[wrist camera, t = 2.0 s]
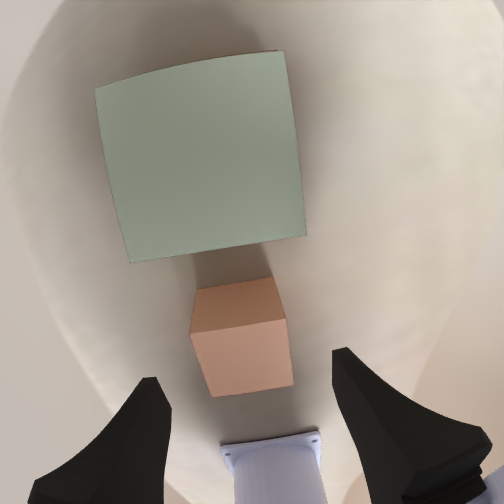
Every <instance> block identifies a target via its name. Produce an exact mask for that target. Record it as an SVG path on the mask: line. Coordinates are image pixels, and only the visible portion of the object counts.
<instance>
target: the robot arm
mask: <svg viewBox="0 0 504 504" xmlns="http://www.w3.org/2000/svg"><path fill="white" fill-rule="evenodd" d="M332 386H333V389H334V393H335V396H336V400H337V403H338V406H339V408H340V411H341V413H342V415H343V418H344V420H345V422H346V425H347V427H348V429H349V431H350V434H351V436H352V438H353V441H354V443H355V445H356V448H357V451H358V453H359V457H360V460H361V464H362V467H363V471H364V474H365V478H366V482H367V486H368V490H369V494H370V498H371V503H372V504H504V465H503V466H501V467H500V468H499V469H497V470H495V471H494V472H492V473H491V474H490V475H488V476H487V477H486V478H484V479H483V480H482V478H481V476H480V475H481V474H482V469H481V468H480V466H479V465H480V464H481V463H482V461H483V460H484V459H485V458H486V456H487V455H488V454H489V452H490V451H491V448H492V443H491V441H490V439H489V438H488V436H487V435H486V433H485V432H484V431H483V430H482V428H481V427H479V426H474V425H471V424H466V423H463V422H459V421H456V420H453V419H450V418H448V417H445V416H443V415H440V414H438V413H436V412H434V411H431V410H429V409H427V408H425V407H423V406H421V405H419V404H418V403H416V402H414V401H412V400H411V399H409V398H407V397H406V396H404V395H403V394H401V393H400V392H398V391H397V390H396V389H394V388H393V387H392V386H390V385H389V384H388V383H386V382H385V381H384V380H383V379H381V378H380V377H379V376H378V375H377V374H375V373H374V372H373V371H372V370H371V369H370V368H369V367H367V366H366V365H365V364H364V363H363V362H362V361H361V360H360V359H359V358H358V357H357V356H356V355H355V354H354V353H353V352H352V351H351V350H350V349H349V348H347V347H345V348H340V349H336V350H332ZM171 414H172V408H171V406H170V404H169V402H168V400H167V398H166V396H165V394H164V392H163V390H162V388H161V386H160V384H159V382H158V380H157V378H156V377H149V378H142V380H141V381H140V382H139V384H138V385H137V386H136V388H135V389H134V391H133V392H132V393H131V395H130V396H129V397H128V399H127V400H126V402H125V403H124V404H123V406H122V407H121V408H120V410H119V411H118V412H117V414H116V415H115V416H114V417H113V418H112V420H111V421H110V422H109V424H108V425H107V426H106V427H105V428H104V429H103V430H102V431H101V433H100V434H99V435H98V436H97V437H96V438H95V439H94V440H93V441H92V442H91V443H90V444H88V446H86V447H85V448H84V449H83V450H82V451H80V452H79V453H78V454H77V455H76V456H74V457H73V458H72V459H70V460H69V461H68V462H66V463H65V464H63V465H62V466H60V467H59V468H57V469H55V470H54V471H52V472H50V473H48V474H46V475H44V476H42V477H41V478H39V479H36V480H35V482H34V484H33V487H32V490H31V493H30V496H29V499H28V504H164V471H165V465H166V458H167V452H168V446H169V439H170V433H171ZM220 452H221V454H222V456H223V458H224V460H225V462H226V464H227V466H228V468H229V470H230V472H231V474H232V475H233V477H234V494H235V504H328V502H327V498H326V494H325V490H324V486H323V482H322V478H321V474H320V463H321V435H320V432H318V431H313V432H308V433H303V434H298V435H293V436H288V437H282V438H276V439H270V440H263V441H256V442H249V443H240V444H231V445H223V446H221V447H220Z"/></svg>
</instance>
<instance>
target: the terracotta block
mask: <svg viewBox="0 0 504 504" xmlns="http://www.w3.org/2000/svg"><path fill="white" fill-rule="evenodd" d="M189 335H190V338H191V341H192V344H193V347H194V350H195V353H196V356H197V359H198V362H199V364H200V367H201V370H202V373H203V376H204V378H205V381H206V384H207V387H208V389H209V392H210V395H211V397H220V396H228V395H236V394H243V393H250V392H257V391H263V390H269V389H275V388H281V387H286V386H291V385H294V382H293V373H292V364H291V356H290V347H289V339H288V330H287V322H286V317H285V313H284V310H283V307H282V303H281V300H280V296H279V293H278V290H277V286H276V283H275V280H274V277H268V278H262V279H257V280H251V281H245V282H239V283H233V284H227V285H221V286H215V287H209V288H202V289H197V293H196V298H195V304H194V309H193V315H192V320H191V326H190V332H189Z"/></svg>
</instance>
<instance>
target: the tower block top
mask: <svg viewBox="0 0 504 504" xmlns="http://www.w3.org/2000/svg"><path fill="white" fill-rule="evenodd" d="M94 93H95V101H96V109H97V116H98V123H99V129H100V135H101V141H102V147H103V152H104V158H105V163H106V168H107V173H108V178H109V183H110V187H111V192H112V196H113V200H114V205H115V209H116V213H117V217H118V221H119V225H120V229H121V233H122V236H123V240H124V244H125V247H126V251H127V254H128V258H129V261H130V263H134V262H140V261H146V260H153V259H159V258H165V257H171V256H177V255H184V254H190V253H196V252H202V251H209V250H215V249H221V248H228V247H234V246H241V245H247V244H253V243H260V242H266V241H273V240H279V239H286V238H292V237H299V236H306V235H307V232H306V221H305V210H304V200H303V190H302V180H301V171H300V163H299V154H298V146H297V138H296V130H295V123H294V115H293V108H292V101H291V94H290V88H289V81H288V75H287V69H286V62H285V56H284V51H276V52H263V53H253V54H244V55H236V56H228V57H221V58H215V59H209V60H203V61H198V62H192V63H187V64H182V65H178V66H173V67H169V68H164V69H160V70H156V71H152V72H148V73H144V74H141V75H137V76H134V77H130V78H127V79H123V80H120V81H117V82H114V83H111V84H108V85H104V86H102V87H99V88H96V89H94Z"/></svg>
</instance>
